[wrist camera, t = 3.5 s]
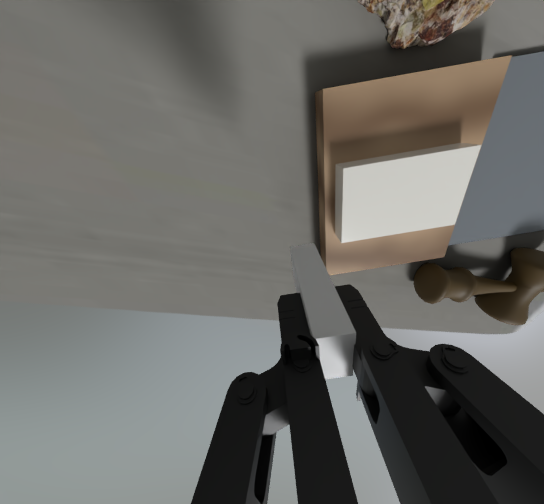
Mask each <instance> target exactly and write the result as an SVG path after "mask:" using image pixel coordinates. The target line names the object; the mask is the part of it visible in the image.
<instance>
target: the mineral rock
mask: <svg viewBox="0 0 544 504" xmlns="http://www.w3.org/2000/svg"><path fill="white" fill-rule="evenodd" d="M493 2H494V0H358V3H360V4H361V5H363V6H364V7H366V9H367V11H369V12H371V13H376V14H377V15H378V16H379V17H380V18H382V19H383V20H384V23H385V27H386V28H387V29H388V37H387V41H388V42H389V43H390V44H391V46H392V48H397V49H398V48H401V49H404V48H406V47H410V46H415V45H417V44H418V45H419V46H428V45H434V44H436V43H438V42H440V41H441V40H443V39H444V38H445V37H447V36H449V35H450V34H452V33H453V32H455V31H456V30H459V29H461V28H463V27H464V26H466V25H467V24H469V23H470V22H471V21H473V20H474V19H476V18H477V17H479V16H480V15H481V14H483V13H484V12H485V11H487V10H488V8H489V7H490V6H491V5H492V3H493Z"/></svg>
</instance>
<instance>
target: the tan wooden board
mask: <svg viewBox="0 0 544 504" xmlns="http://www.w3.org/2000/svg"><path fill="white" fill-rule="evenodd" d="M511 57H512V55H510V56H504V57H498V58H493V59H487V60H482V61H476V62H471V63H465V64H459V65H454V66H448V67H443V68H437V69H432V70H426V71H420V72H415V73H409V74H404V75H398V76H392V77H387V78H381V79H376V80H370V81H365V82H359V83H353V84H348V85H342V86H337V87H331V88H326V89H322V90H320V91H318V92H315V107H316V137H317V166H318V195H319V224H320V253H321V259H322V261H323V263H324V265H325V267H326V269H327V272H328V274H329V275H335V274H341V273H348V272H354V271H360V270H367V269H373V268H379V267H385V266H392V265H398V264H404V263H410V262H417V261H423V260H429V259H435V258H442V257H444V256H445V253H446V250H447V247H448V244H449V241H450V238H451V235H452V232H453V229H454V226H455V225H450V226H444V227H438V228H432V229H425V230H419V231H413V232H407V233H401V234H395V235H389V236H382V237H376V238H370V239H364V240H358V241H352V242H346V243H341V242H340V240H339V239H338V238H337V236H336V235H335V170H336V164H339V163H345V162H351V161H357V160H362V159H368V158H374V157H380V156H386V155H392V154H397V153H403V152H409V151H415V150H421V149H427V148H433V147H438V146H444V145H450V144H456V143H469V144H478V145H481V146H482V143H483V140H484V137H485V134H486V131H487V128H488V125H489V122H490V119H491V116H492V113H493V110H494V107H495V104H496V101H497V98H498V95H499V92H500V89H501V87H502V84H503V81H504V78H505V75H506V72H507V69H508V66H509V63H510V60H511ZM480 149H481V148H480ZM479 152H480V151H479ZM478 155H479V154H478ZM477 158H478V157H477ZM476 161H477V160H476ZM475 164H476V163H475ZM474 167H475V166H474ZM473 170H474V169H473ZM472 173H473V172H472ZM471 176H472V175H471ZM470 179H471V178H470ZM469 182H470V181H469ZM468 185H469V184H468ZM467 188H468V187H467ZM466 191H467V190H466ZM465 194H466V193H465ZM464 197H465V196H464ZM463 200H464V199H463ZM462 203H463V202H462ZM461 206H462V205H461ZM460 209H461V207H460ZM459 212H460V210H459ZM458 215H459V213H458ZM457 218H458V216H457ZM456 220H457V219H456ZM455 223H456V222H455Z"/></svg>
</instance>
